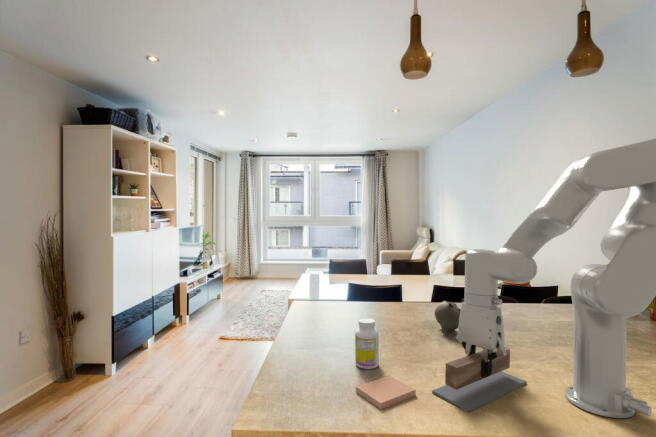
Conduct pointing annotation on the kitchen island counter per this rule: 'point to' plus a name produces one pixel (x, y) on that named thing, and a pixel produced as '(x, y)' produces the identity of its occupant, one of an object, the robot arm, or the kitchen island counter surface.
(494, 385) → the rubber mat
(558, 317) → the kitchen island counter surface
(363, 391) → the terracotta tile
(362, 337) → the supplement bottle
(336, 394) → the kitchen island counter surface
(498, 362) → the walnut bar
